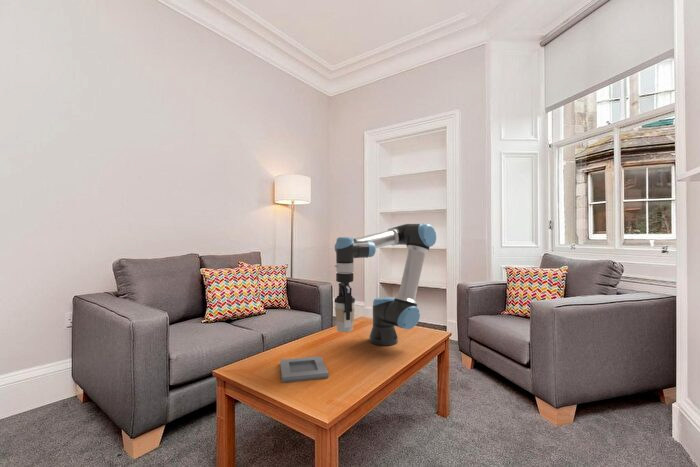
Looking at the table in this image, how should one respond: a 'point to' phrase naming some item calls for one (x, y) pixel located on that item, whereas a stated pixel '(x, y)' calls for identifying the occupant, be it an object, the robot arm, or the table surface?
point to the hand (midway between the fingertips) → (344, 324)
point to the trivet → (303, 369)
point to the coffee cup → (340, 315)
